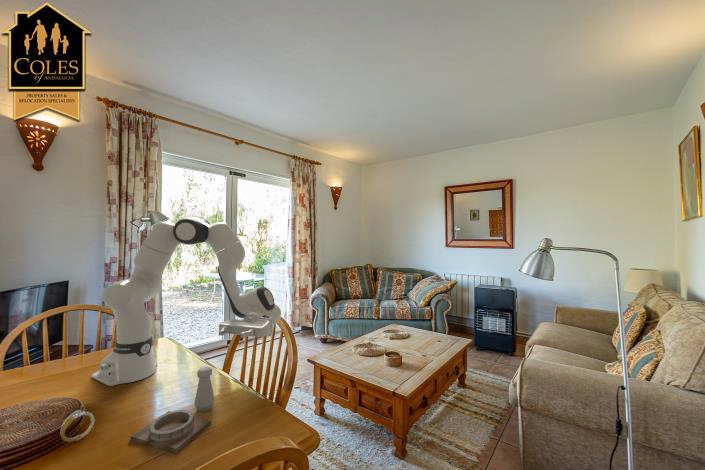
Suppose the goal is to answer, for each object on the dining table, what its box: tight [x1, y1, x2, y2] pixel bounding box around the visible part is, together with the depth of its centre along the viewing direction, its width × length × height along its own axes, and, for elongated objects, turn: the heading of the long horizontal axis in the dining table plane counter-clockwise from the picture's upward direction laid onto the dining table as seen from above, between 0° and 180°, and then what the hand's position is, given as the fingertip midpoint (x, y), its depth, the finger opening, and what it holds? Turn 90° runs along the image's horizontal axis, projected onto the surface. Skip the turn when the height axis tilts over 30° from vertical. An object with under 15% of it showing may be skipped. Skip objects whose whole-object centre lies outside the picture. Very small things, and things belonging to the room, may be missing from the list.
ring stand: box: [129, 409, 212, 454], centre depth 84 cm, size 16×12×3 cm
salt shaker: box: [194, 366, 215, 413], centre depth 96 cm, size 6×6×13 cm
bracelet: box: [59, 408, 96, 443], centre depth 81 cm, size 7×3×8 cm, turn 144°
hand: (231, 334), depth 107 cm, fingers open, 8 cm apart
